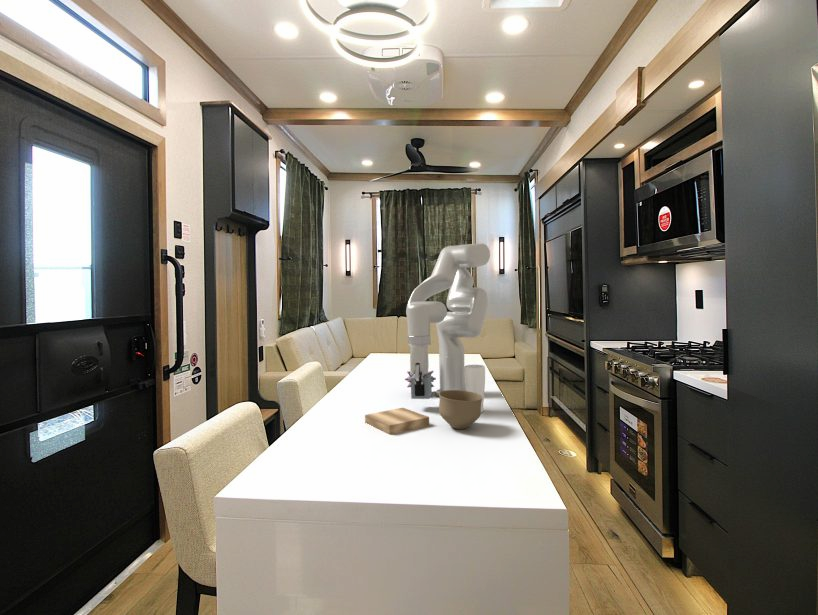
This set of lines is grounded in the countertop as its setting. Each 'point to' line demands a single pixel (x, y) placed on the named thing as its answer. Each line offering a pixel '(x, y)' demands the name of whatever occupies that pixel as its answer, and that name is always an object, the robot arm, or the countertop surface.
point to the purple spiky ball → (414, 373)
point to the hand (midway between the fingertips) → (421, 392)
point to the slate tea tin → (426, 387)
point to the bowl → (459, 407)
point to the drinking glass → (475, 380)
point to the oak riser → (396, 420)
